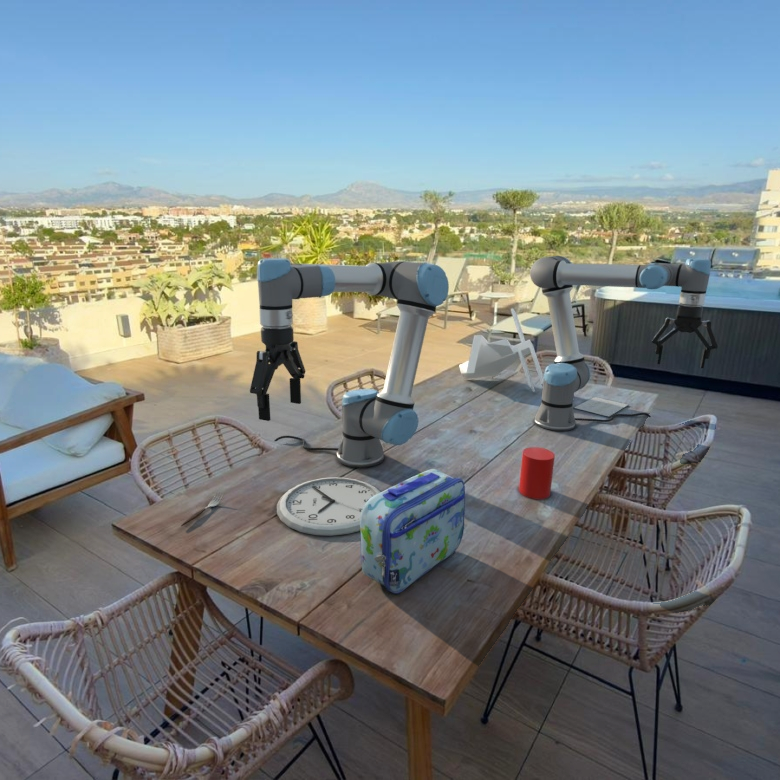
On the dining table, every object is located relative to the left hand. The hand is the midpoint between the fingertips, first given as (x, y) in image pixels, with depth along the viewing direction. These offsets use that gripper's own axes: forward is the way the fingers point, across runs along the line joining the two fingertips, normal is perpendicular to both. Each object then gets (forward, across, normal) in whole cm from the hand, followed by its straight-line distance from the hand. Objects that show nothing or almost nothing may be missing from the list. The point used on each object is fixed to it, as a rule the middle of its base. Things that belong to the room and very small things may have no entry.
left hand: (280, 411), depth 130 cm
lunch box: (+29, -8, -39) cm, 49 cm away
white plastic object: (+29, +142, -28) cm, 148 cm away
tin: (+29, +40, -59) cm, 77 cm away
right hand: (+1, +102, -98) cm, 142 cm away
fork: (+29, -8, +20) cm, 36 cm away
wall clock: (+29, +9, -9) cm, 32 cm away
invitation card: (+29, +130, -75) cm, 153 cm away
